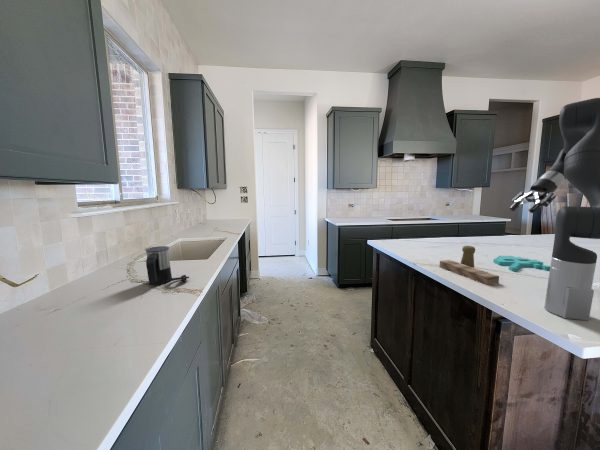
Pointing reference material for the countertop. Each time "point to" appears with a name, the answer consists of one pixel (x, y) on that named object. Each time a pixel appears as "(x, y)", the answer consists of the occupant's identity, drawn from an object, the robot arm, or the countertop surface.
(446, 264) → the walnut plank
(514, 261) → the turquoise toy gun
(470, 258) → the cork
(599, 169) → the robot arm
